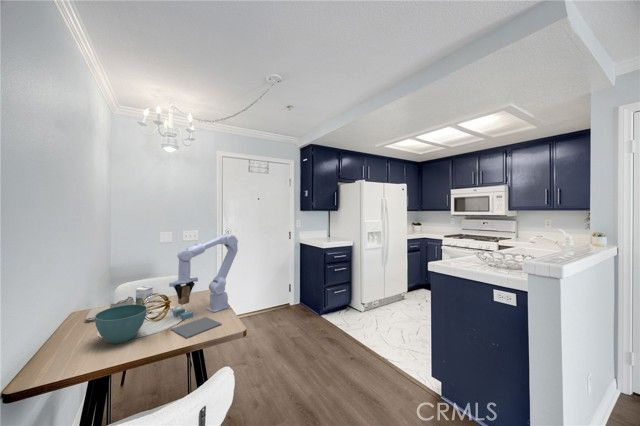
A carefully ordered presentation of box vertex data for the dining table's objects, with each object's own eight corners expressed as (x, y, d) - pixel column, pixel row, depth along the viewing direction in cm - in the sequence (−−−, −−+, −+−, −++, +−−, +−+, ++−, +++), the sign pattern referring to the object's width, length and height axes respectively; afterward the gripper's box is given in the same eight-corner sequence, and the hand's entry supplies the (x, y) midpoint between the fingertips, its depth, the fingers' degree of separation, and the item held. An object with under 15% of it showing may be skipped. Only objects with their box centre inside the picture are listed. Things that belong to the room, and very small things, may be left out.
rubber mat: (205, 317, 138) (205, 316, 138) (221, 324, 130) (221, 323, 130) (170, 330, 123) (170, 328, 123) (186, 338, 115) (186, 337, 115)
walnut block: (185, 301, 142) (185, 285, 142) (189, 302, 139) (189, 286, 139) (178, 303, 138) (178, 286, 138) (181, 304, 136) (182, 287, 136)
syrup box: (152, 311, 144) (153, 286, 144) (144, 315, 138) (145, 289, 138) (143, 311, 145) (143, 285, 145) (134, 315, 139) (135, 288, 139)
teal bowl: (150, 327, 125) (151, 302, 125) (139, 345, 108) (140, 316, 108) (104, 333, 118) (105, 306, 118) (85, 353, 101) (86, 322, 101)
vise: (176, 309, 148) (176, 305, 148) (192, 317, 138) (193, 312, 138) (166, 312, 144) (166, 308, 144) (182, 320, 134) (182, 315, 134)
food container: (121, 324, 127) (122, 304, 127) (109, 324, 127) (109, 304, 127) (139, 314, 140) (140, 296, 140) (128, 314, 140) (128, 296, 140)
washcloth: (84, 324, 127) (84, 318, 127) (89, 312, 142) (89, 307, 142) (114, 319, 134) (114, 313, 134) (116, 308, 149) (117, 303, 149)
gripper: (193, 268, 147) (193, 292, 147) (166, 273, 135) (166, 299, 135) (200, 270, 143) (199, 295, 143) (173, 275, 131) (172, 302, 131)
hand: (183, 297), depth 139 cm, fingers closed on walnut block, 4 cm apart
